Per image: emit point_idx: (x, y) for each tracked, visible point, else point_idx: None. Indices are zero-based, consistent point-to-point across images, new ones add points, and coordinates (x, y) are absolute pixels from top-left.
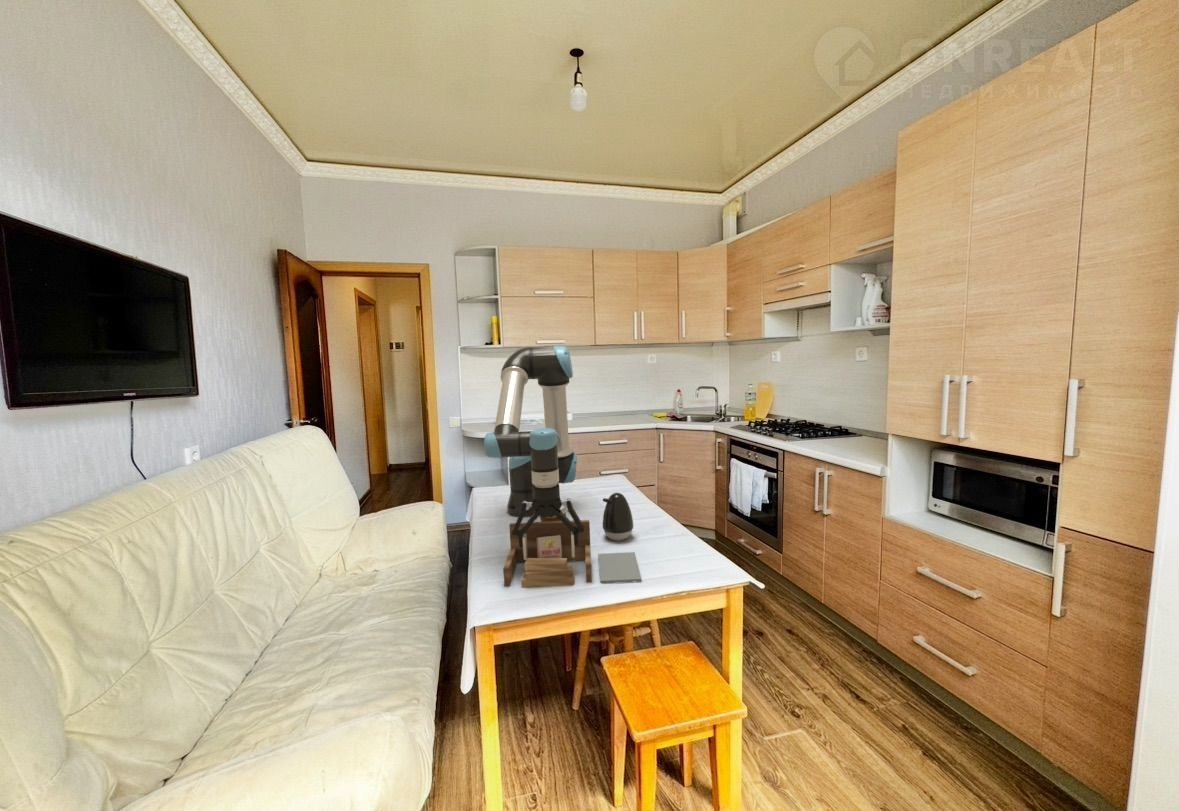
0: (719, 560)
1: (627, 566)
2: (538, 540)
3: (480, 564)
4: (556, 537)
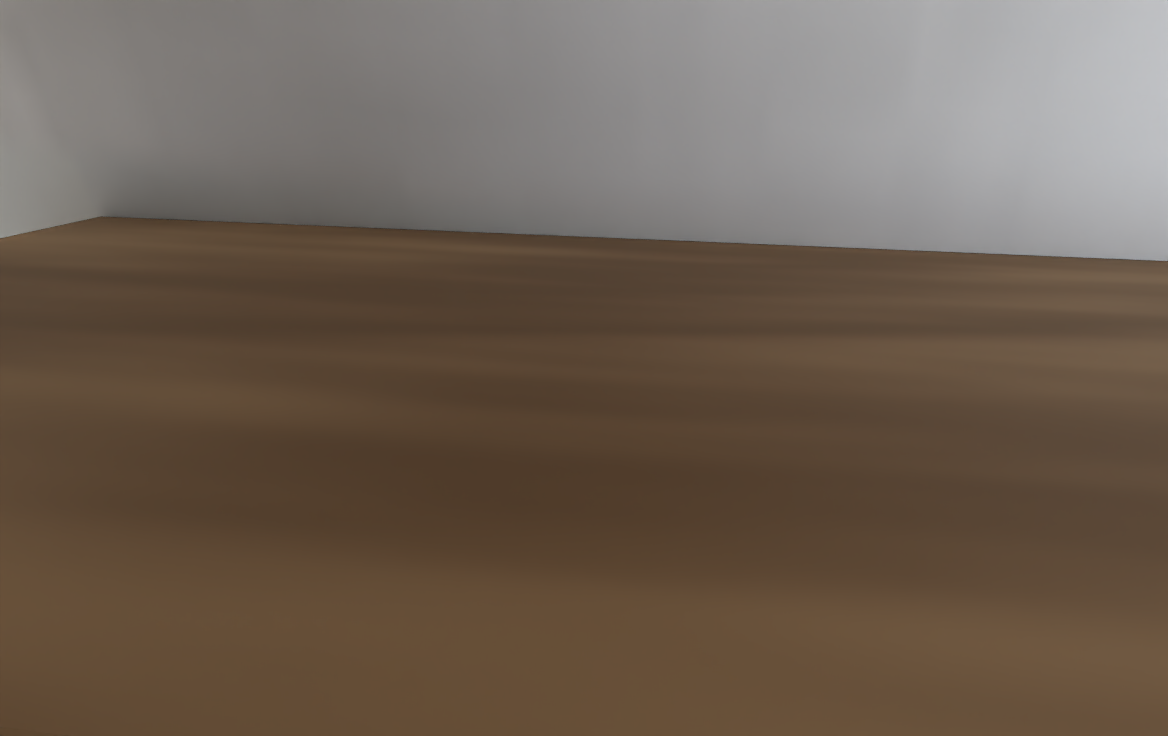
0: None
1: None
2: None
3: None
4: None
